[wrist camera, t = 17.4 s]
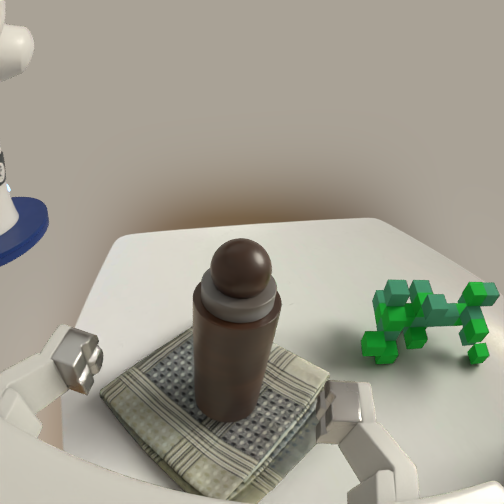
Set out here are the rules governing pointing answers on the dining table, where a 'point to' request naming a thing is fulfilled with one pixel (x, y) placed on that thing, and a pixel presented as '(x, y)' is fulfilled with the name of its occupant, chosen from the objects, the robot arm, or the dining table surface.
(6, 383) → the robot arm
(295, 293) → the dining table surface
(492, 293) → the building blocks
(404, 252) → the dining table surface
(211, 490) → the dish towel
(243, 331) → the pepper mill
